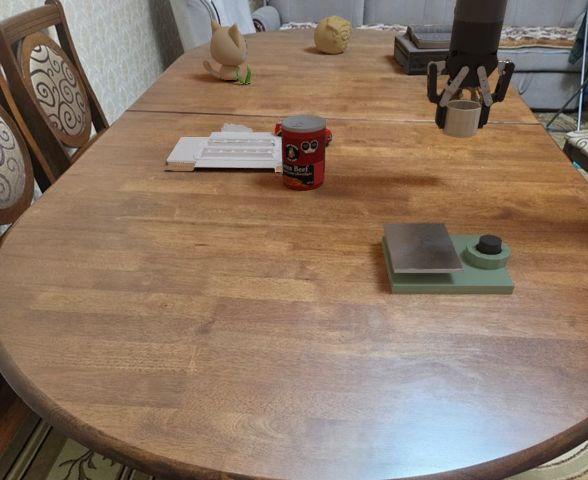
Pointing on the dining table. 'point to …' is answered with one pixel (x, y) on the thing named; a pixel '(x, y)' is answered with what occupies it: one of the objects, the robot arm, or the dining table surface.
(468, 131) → the cup
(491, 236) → the tare button
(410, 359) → the dining table surface
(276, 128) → the race car
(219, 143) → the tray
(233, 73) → the kitten
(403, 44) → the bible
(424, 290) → the scale
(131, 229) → the dining table surface
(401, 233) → the platform
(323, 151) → the canned food
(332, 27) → the sculpture
